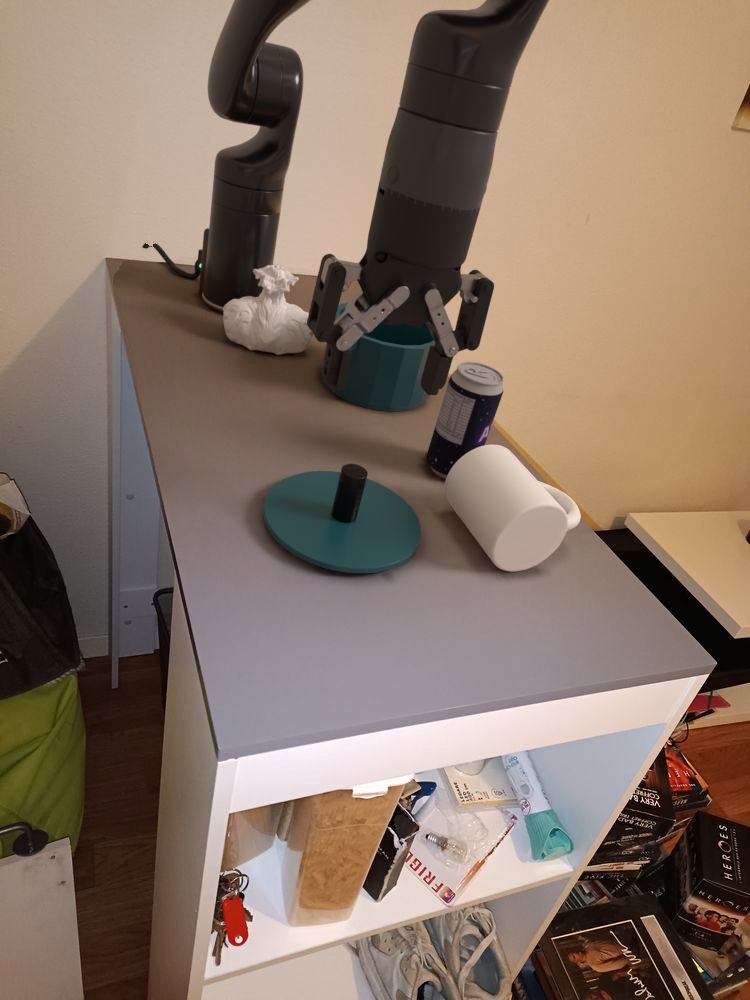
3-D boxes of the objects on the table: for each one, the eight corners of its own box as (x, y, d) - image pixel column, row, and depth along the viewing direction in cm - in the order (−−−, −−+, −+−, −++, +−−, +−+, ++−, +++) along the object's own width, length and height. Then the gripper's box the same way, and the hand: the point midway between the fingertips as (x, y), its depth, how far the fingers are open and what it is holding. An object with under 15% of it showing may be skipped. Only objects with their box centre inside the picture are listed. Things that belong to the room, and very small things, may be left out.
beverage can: (471, 490, 79) (506, 391, 73) (420, 475, 79) (450, 375, 73) (475, 464, 84) (508, 369, 77) (427, 450, 84) (456, 354, 78)
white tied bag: (307, 366, 101) (318, 286, 101) (313, 353, 93) (325, 267, 94) (218, 351, 98) (230, 269, 99) (217, 336, 91) (230, 248, 92)
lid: (228, 511, 67) (236, 454, 64) (336, 465, 77) (348, 413, 74) (347, 602, 60) (363, 544, 57) (448, 538, 71) (466, 486, 68)
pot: (284, 377, 92) (294, 312, 87) (379, 350, 105) (393, 293, 100) (365, 427, 86) (381, 360, 81) (455, 392, 99) (473, 333, 94)
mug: (480, 576, 67) (508, 506, 63) (434, 510, 74) (456, 443, 70) (584, 565, 72) (616, 499, 68) (531, 505, 79) (557, 442, 75)
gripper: (492, 187, 58) (439, 372, 67) (322, 159, 53) (288, 365, 61) (540, 216, 53) (475, 413, 62) (356, 188, 47) (313, 410, 56)
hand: (382, 389), depth 62 cm, fingers open, 8 cm apart
